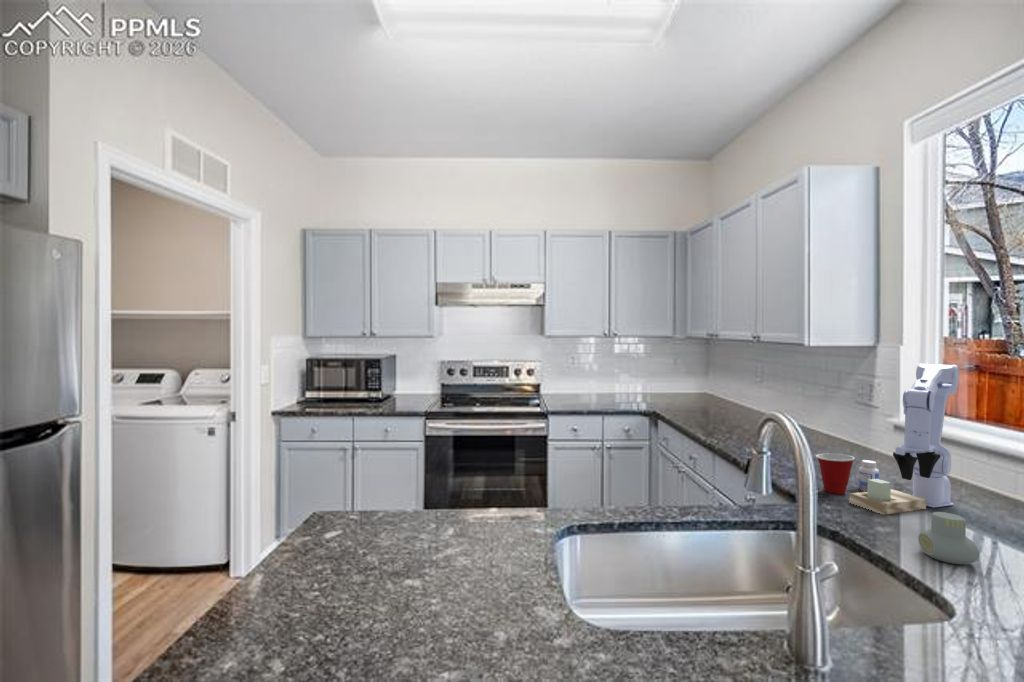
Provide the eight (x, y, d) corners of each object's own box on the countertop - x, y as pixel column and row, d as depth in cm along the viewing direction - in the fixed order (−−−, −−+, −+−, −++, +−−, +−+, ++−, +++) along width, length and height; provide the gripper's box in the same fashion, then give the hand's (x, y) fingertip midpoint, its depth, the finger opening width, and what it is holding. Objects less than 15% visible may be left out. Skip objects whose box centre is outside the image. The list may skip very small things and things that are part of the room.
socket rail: (891, 498, 157) (891, 489, 157) (926, 509, 147) (926, 499, 147) (849, 503, 151) (849, 493, 151) (882, 514, 142) (883, 504, 142)
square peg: (876, 504, 150) (877, 478, 150) (890, 509, 147) (890, 482, 146) (866, 506, 149) (867, 479, 149) (880, 510, 145) (881, 483, 145)
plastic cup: (815, 484, 170) (816, 449, 170) (854, 491, 164) (855, 454, 164) (813, 492, 161) (814, 455, 161) (853, 499, 155) (854, 461, 155)
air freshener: (984, 573, 107) (985, 527, 107) (938, 566, 109) (939, 522, 109) (955, 552, 117) (957, 510, 117) (914, 547, 120) (915, 506, 120)
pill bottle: (872, 488, 167) (873, 459, 167) (882, 493, 162) (883, 463, 162) (854, 487, 168) (855, 459, 168) (864, 492, 162) (865, 463, 162)
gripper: (914, 435, 137) (913, 484, 137) (950, 433, 141) (948, 480, 141) (888, 430, 143) (886, 476, 144) (923, 428, 148) (921, 473, 148)
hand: (915, 478), depth 143 cm, fingers open, 7 cm apart
